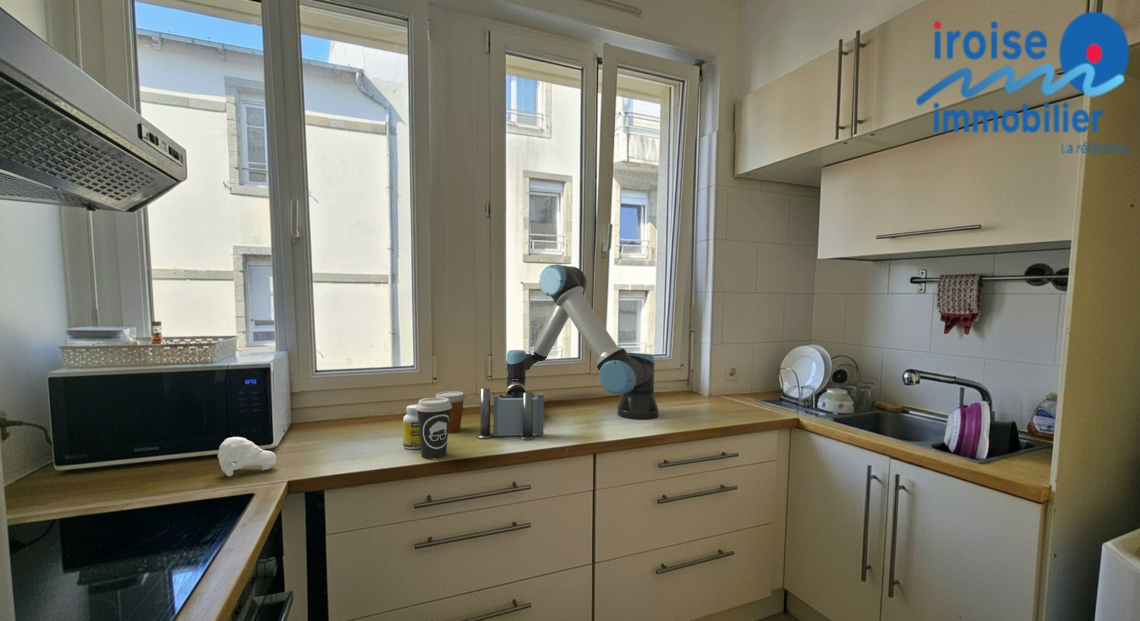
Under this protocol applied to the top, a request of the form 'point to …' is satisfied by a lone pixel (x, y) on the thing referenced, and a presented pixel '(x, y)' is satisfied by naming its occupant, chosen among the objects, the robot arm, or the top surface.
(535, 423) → the gate
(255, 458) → the white lumpy piece
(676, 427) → the top surface
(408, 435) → the pill bottle
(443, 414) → the coffee cup
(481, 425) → the hinge post
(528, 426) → the post
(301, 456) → the top surface
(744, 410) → the top surface
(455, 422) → the disposable coffee cup
